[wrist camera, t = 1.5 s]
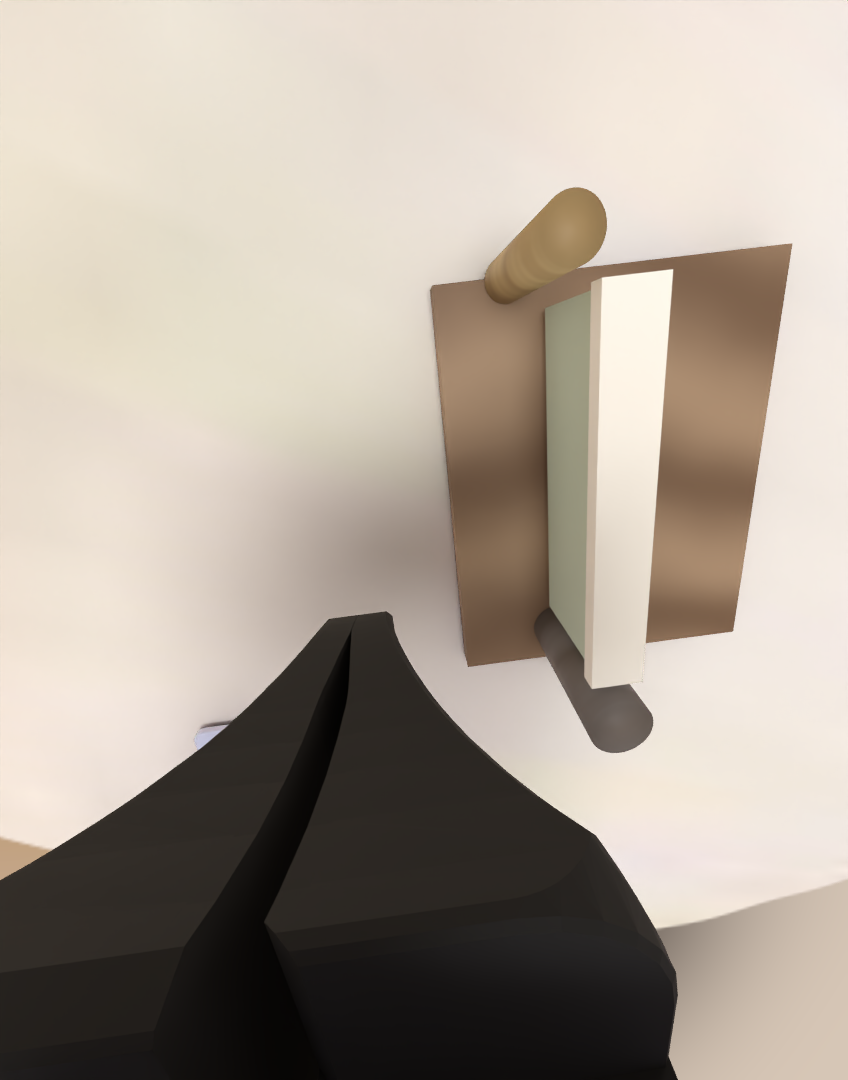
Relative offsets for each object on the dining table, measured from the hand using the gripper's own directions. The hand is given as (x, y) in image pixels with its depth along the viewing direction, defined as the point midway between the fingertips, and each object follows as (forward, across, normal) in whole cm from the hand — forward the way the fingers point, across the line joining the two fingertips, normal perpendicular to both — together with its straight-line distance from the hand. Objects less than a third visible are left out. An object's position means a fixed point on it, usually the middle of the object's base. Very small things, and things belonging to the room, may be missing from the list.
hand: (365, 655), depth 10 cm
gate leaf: (+8, -7, -1) cm, 11 cm away
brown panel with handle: (+9, -9, -1) cm, 13 cm away
